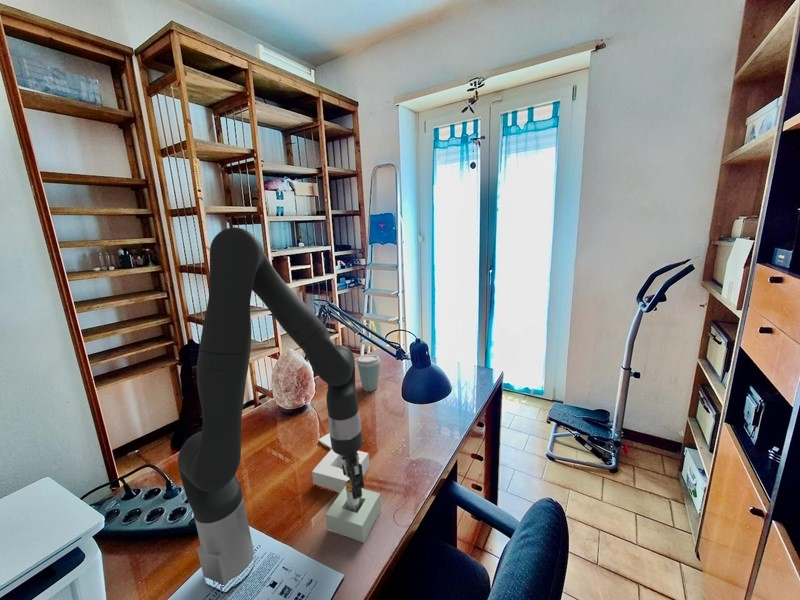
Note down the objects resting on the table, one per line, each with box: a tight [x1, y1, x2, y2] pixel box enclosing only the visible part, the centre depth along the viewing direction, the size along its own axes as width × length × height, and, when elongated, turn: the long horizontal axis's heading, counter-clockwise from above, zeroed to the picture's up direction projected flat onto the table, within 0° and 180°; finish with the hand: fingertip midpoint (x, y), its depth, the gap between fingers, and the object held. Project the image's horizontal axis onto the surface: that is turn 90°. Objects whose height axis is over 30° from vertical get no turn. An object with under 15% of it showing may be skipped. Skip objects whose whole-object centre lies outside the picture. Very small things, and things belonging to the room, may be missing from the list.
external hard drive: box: [318, 432, 332, 449], centre depth 119 cm, size 2×8×12 cm
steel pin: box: [345, 479, 360, 513], centre depth 85 cm, size 3×3×11 cm
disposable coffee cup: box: [356, 354, 381, 392], centre depth 151 cm, size 11×11×15 cm
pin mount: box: [325, 486, 382, 543], centre depth 85 cm, size 10×10×5 cm
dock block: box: [311, 449, 371, 492], centre depth 100 cm, size 12×12×5 cm
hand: (352, 485), depth 84 cm, fingers open, 8 cm apart
